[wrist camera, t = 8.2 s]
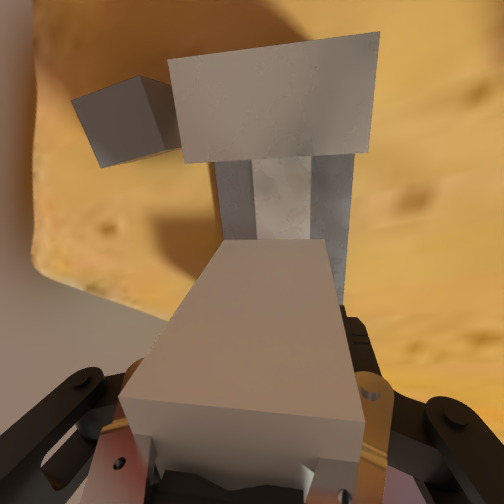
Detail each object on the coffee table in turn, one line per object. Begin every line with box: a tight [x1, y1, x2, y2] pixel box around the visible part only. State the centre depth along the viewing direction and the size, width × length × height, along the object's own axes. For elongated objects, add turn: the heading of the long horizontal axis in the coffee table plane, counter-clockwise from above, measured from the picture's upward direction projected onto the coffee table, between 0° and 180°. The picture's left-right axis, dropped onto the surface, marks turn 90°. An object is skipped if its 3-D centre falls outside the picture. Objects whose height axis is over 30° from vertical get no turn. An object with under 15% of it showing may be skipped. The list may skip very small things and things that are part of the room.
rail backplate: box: [167, 31, 380, 305], centre depth 22 cm, size 24×12×10 cm, turn 5°
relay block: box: [71, 75, 182, 168], centre depth 23 cm, size 5×6×5 cm
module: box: [118, 239, 365, 503], centre depth 11 cm, size 6×5×9 cm
